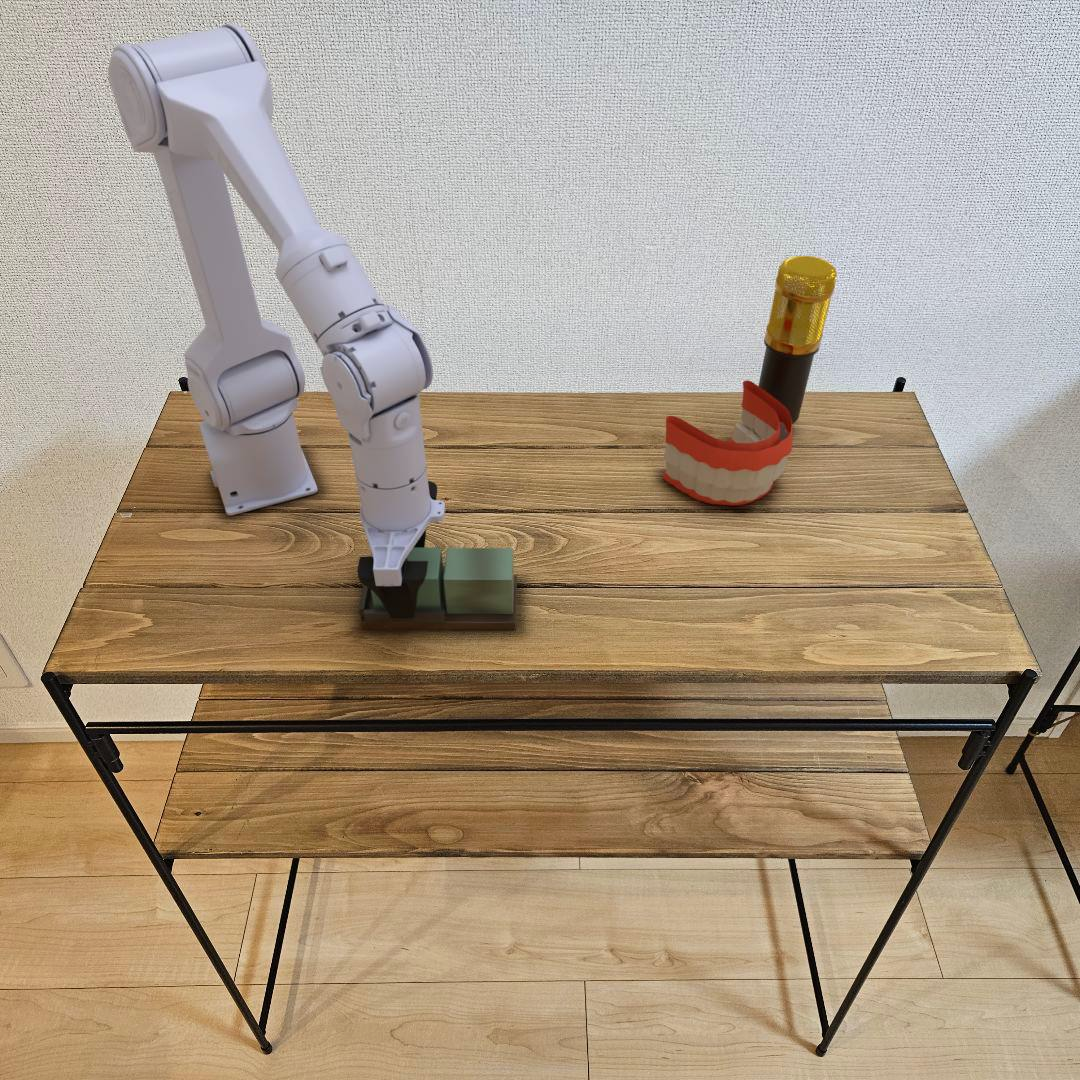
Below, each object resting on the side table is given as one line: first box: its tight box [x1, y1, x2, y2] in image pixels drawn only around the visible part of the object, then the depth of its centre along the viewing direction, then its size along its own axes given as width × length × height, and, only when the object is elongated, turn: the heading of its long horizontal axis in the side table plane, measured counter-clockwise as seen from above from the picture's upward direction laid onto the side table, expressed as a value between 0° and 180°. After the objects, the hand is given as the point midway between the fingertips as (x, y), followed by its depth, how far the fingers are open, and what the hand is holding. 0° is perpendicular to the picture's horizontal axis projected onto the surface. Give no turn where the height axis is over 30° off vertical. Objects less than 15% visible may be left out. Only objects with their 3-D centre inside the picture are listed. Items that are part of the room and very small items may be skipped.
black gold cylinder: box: [757, 255, 838, 426], centre depth 96 cm, size 6×13×20 cm, turn 94°
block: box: [371, 547, 444, 610], centre depth 80 cm, size 6×4×4 cm, turn 90°
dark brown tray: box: [358, 547, 518, 631], centre depth 81 cm, size 14×6×6 cm, turn 90°
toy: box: [662, 379, 794, 506], centre depth 93 cm, size 12×10×8 cm
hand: (407, 584), depth 81 cm, fingers open, 7 cm apart
